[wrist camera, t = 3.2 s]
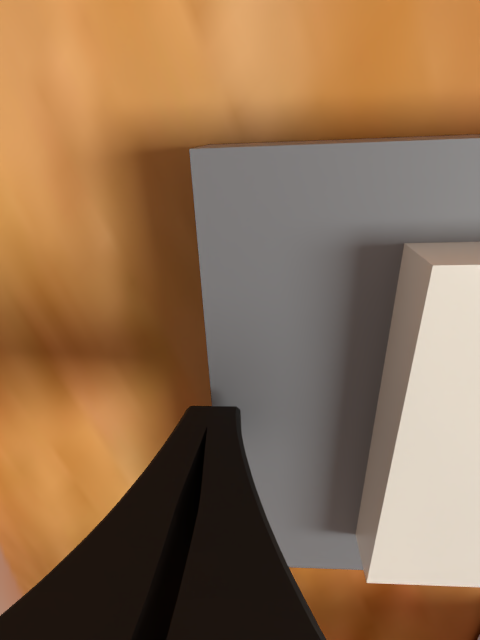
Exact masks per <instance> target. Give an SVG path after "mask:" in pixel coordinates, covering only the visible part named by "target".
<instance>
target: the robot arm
mask: <svg viewBox="0 0 480 640" xmlns="http://www.w3.org/2000/svg"><path fill="white" fill-rule="evenodd" d="M0 640H326V638H325V637H324V635H323V633H322V631H321V629H320V628H319V626H318V624H317V622H316V620H315V618H314V616H313V614H312V612H311V610H310V608H309V606H308V604H307V603H306V601H305V599H304V597H303V595H302V593H301V591H300V589H299V587H298V585H297V583H296V581H295V579H294V577H293V575H292V573H291V571H290V569H289V567H288V565H287V563H286V560H285V558H284V556H283V554H282V552H281V550H280V548H279V545H278V543H277V541H276V538H275V536H274V534H273V531H272V529H271V527H270V524H269V522H268V519H267V517H266V514H265V512H264V509H263V506H262V504H261V501H260V498H259V495H258V492H257V490H256V487H255V484H254V480H253V477H252V474H251V471H250V467H249V464H248V460H247V457H246V453H245V448H244V444H243V439H242V430H241V410H240V409H239V408H238V407H236V406H190V407H189V408H188V409H187V410H186V412H185V414H184V415H183V417H182V418H181V420H180V421H179V423H178V425H177V426H176V428H175V429H174V431H173V432H172V434H171V435H170V436H169V438H168V439H167V441H166V442H165V444H164V445H163V447H162V448H161V449H160V451H159V452H158V453H157V455H156V456H155V457H154V459H153V460H152V461H151V463H150V464H149V465H148V467H147V468H146V469H145V471H144V472H143V473H142V474H141V476H140V477H139V478H138V479H137V480H136V482H135V483H134V484H133V485H132V487H131V488H130V489H129V490H128V491H127V493H126V494H125V495H124V496H123V497H122V499H121V500H120V501H119V502H118V503H117V504H116V506H115V507H114V508H113V509H112V510H111V511H110V512H109V513H108V515H107V516H106V517H105V518H104V519H103V520H102V521H101V522H100V523H99V524H98V525H97V526H96V527H95V528H94V529H93V531H92V532H91V533H90V534H89V535H88V536H87V537H86V538H85V539H84V540H83V541H82V542H81V543H80V544H79V545H78V546H77V547H76V548H75V549H74V550H73V551H72V552H71V553H70V554H69V555H67V556H66V557H65V558H64V559H63V560H62V561H61V562H60V563H59V564H58V565H57V566H56V567H55V568H54V569H53V570H52V571H51V572H50V573H49V574H48V575H47V576H45V577H44V578H43V579H42V580H41V581H40V582H39V583H38V584H37V585H36V586H34V587H33V588H32V589H31V590H30V591H29V592H28V593H26V594H25V595H24V596H23V597H22V598H21V599H20V600H18V601H17V602H16V603H15V604H14V605H12V606H11V607H10V608H9V609H8V610H7V611H5V612H4V613H3V614H2V615H1V616H0ZM477 640H480V635H479V637H478V639H477Z"/></svg>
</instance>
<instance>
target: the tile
mask: <svg viewBox="0 0 480 640" xmlns="http://www.w3.org/2000/svg"><path fill="white" fill-rule="evenodd" d="M356 539H357V543H358V548H359V552H360V557H361V561H362V565H363V570H364V574H365V578H366V583H383V584H408V585H434V586H460V587H480V242H440V243H404V249H403V254H402V260H401V266H400V272H399V278H398V284H397V290H396V296H395V302H394V308H393V314H392V320H391V326H390V332H389V338H388V344H387V350H386V356H385V362H384V368H383V374H382V380H381V386H380V392H379V397H378V403H377V409H376V415H375V421H374V427H373V433H372V439H371V445H370V451H369V457H368V463H367V469H366V475H365V481H364V487H363V493H362V499H361V505H360V511H359V517H358V523H357V529H356Z"/></svg>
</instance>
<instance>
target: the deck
mask: <svg viewBox="0 0 480 640" xmlns="http://www.w3.org/2000/svg"><path fill="white" fill-rule="evenodd" d="M189 152H190V163H191V174H192V186H193V197H194V208H195V220H196V231H197V242H198V253H199V265H200V276H201V287H202V299H203V310H204V321H205V332H206V344H207V355H208V366H209V377H210V389H211V400H212V406H236V407H238V408H239V409H240V410H241V430H242V439H243V444H244V448H245V453H246V457H247V460H248V464H249V467H250V471H251V474H252V477H253V480H254V484H255V487H256V490H257V492H258V495H259V498H260V501H261V504H262V506H263V509H264V512H265V514H266V517H267V519H268V522H269V524H270V527H271V529H272V531H273V534H274V536H275V538H276V541H277V543H278V545H279V548H280V550H281V552H282V554H283V556H284V558H285V560H286V563H287V565H288V567H298V568H325V569H353V570H363V565H362V561H361V557H360V552H359V548H358V543H357V539H356V529H357V523H358V517H359V511H360V505H361V499H362V493H363V487H364V481H365V475H366V469H367V463H368V457H369V451H370V445H371V439H372V433H373V427H374V421H375V415H376V409H377V403H378V397H379V392H380V386H381V380H382V374H383V368H384V362H385V356H386V350H387V344H388V338H389V332H390V326H391V320H392V314H393V308H394V302H395V296H396V290H397V284H398V278H399V272H400V266H401V260H402V254H403V249H404V243H440V242H480V134H473V135H447V136H420V137H394V138H368V139H342V140H316V141H289V142H263V143H237V144H211V145H205V146H200V147H196V148H191V149H189Z"/></svg>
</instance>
